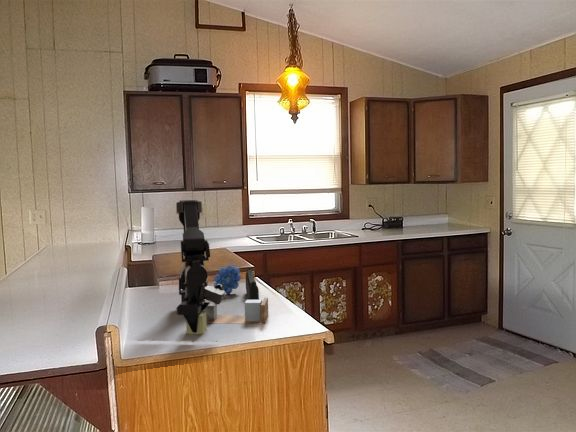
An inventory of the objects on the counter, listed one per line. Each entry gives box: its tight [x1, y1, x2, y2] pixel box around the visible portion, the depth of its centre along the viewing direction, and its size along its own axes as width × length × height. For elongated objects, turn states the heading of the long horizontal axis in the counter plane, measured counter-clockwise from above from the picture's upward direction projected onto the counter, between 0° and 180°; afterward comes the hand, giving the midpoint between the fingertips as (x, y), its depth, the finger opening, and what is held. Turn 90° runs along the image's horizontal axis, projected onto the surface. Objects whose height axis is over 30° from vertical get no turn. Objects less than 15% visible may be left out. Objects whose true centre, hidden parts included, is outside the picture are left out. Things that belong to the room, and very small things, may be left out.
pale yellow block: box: [185, 312, 208, 335], centre depth 140 cm, size 5×4×6 cm
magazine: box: [245, 267, 260, 300], centre depth 177 cm, size 17×3×30 cm
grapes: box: [213, 264, 242, 295], centre depth 191 cm, size 12×7×12 cm, turn 114°
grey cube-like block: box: [204, 302, 218, 321], centre depth 153 cm, size 5×4×5 cm
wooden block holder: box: [206, 297, 269, 325], centre depth 152 cm, size 22×9×7 cm, turn 85°
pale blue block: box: [244, 299, 263, 321], centre depth 151 cm, size 5×4×6 cm
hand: (196, 330), depth 140 cm, fingers closed on pale yellow block, 4 cm apart
